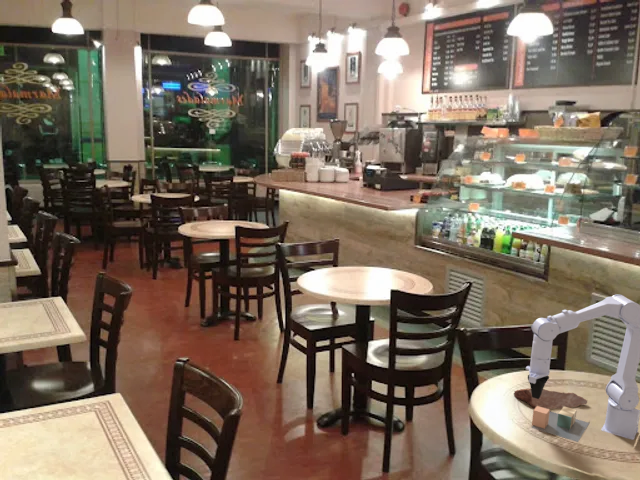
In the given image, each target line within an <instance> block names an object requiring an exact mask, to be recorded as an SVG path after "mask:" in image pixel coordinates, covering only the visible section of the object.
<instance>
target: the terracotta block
mask: <svg viewBox="0 0 640 480" xmlns="http://www.w3.org/2000/svg"><path fill="white" fill-rule="evenodd" d="M550 411H551V409H546V408H543V407H539V406H537V407H536V408H535V409H534V408H533V411H532V412H533V413H532V419H531V420H532V421H531V425H532V426H533V425H534V426H538V427H541V428H544V429H545V427H546V426H547V425H548V420H549V412H550Z"/></svg>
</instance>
